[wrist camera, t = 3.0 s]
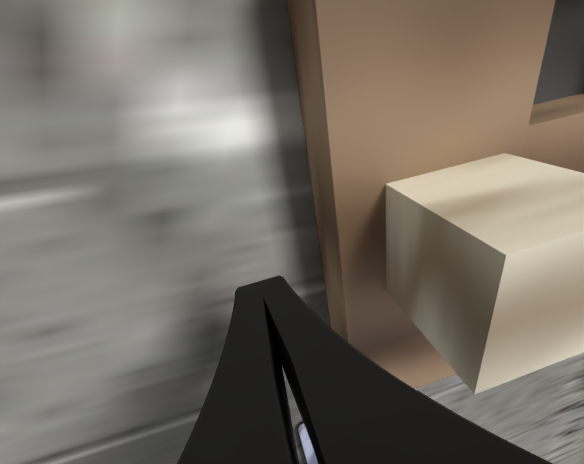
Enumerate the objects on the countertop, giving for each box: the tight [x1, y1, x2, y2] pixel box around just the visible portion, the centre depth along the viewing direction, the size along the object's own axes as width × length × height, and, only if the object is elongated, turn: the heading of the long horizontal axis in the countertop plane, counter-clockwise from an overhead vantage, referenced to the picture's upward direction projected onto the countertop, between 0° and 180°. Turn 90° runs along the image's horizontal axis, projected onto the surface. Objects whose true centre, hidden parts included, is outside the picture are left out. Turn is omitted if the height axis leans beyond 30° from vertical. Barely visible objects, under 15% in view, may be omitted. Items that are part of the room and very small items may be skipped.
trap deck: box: [287, 0, 584, 389], centre depth 13 cm, size 19×22×2 cm
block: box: [386, 153, 584, 394], centre depth 9 cm, size 4×4×4 cm
